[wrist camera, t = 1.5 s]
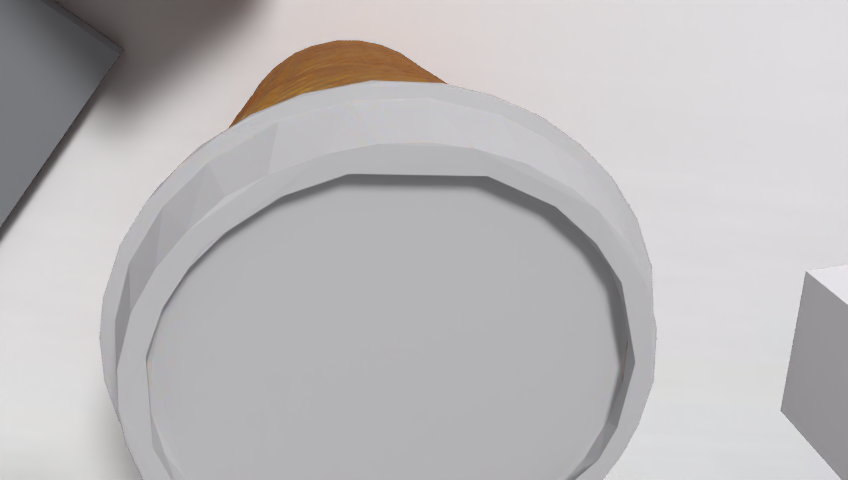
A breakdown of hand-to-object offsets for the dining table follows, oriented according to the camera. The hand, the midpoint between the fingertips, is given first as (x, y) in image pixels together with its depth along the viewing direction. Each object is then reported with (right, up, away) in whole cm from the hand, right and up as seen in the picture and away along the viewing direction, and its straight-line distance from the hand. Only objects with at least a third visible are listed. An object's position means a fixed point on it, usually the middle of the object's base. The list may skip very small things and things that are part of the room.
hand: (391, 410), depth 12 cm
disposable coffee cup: (-2, +5, +12) cm, 13 cm away
